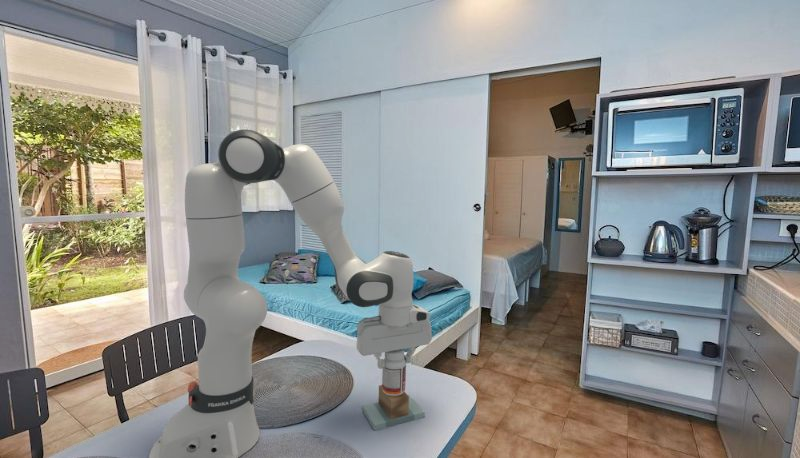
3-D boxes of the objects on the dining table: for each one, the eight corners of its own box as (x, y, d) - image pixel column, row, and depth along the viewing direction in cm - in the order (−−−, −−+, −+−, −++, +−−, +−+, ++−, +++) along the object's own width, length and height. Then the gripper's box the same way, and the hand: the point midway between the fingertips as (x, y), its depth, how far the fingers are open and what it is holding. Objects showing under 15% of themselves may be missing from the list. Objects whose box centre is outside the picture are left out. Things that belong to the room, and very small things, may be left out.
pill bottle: (395, 382, 103) (396, 343, 101) (410, 392, 98) (411, 351, 97) (377, 389, 99) (378, 348, 98) (391, 399, 94) (392, 357, 93)
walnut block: (391, 419, 94) (391, 400, 93) (378, 403, 101) (378, 385, 101) (408, 414, 96) (408, 396, 96) (395, 398, 103) (395, 381, 103)
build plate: (374, 430, 92) (374, 425, 92) (362, 410, 100) (362, 405, 100) (424, 417, 98) (424, 412, 97) (409, 399, 106) (409, 394, 106)
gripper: (361, 323, 89) (360, 378, 90) (435, 312, 97) (433, 363, 99) (353, 314, 94) (352, 366, 96) (423, 305, 103) (422, 353, 104)
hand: (394, 364), depth 97 cm, fingers closed on pill bottle, 6 cm apart
